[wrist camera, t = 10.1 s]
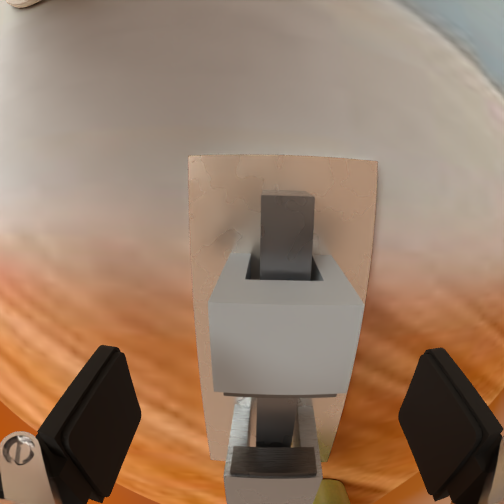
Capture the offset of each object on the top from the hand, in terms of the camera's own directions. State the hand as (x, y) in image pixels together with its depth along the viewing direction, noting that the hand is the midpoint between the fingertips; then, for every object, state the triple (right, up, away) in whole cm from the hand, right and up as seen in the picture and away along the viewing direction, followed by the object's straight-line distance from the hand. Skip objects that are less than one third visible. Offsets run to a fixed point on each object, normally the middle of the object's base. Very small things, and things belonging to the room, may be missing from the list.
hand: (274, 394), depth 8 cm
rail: (+1, -3, +12) cm, 13 cm away
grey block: (+1, +2, +10) cm, 10 cm away
